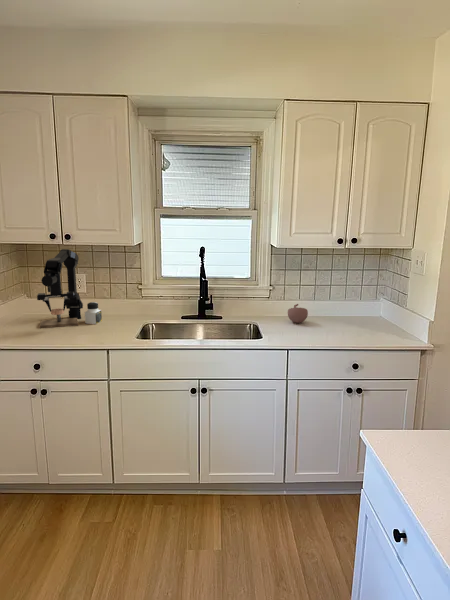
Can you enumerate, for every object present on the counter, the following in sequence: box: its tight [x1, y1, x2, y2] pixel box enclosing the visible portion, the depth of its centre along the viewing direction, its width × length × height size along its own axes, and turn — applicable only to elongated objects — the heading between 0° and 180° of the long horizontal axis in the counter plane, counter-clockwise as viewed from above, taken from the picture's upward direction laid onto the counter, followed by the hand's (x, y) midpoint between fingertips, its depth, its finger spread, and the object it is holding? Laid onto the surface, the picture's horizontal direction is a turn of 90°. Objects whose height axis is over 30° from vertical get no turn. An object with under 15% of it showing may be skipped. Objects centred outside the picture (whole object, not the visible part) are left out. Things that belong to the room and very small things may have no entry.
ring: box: [50, 307, 65, 316], centre depth 224 cm, size 6×6×2 cm
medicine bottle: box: [84, 301, 103, 325], centre depth 242 cm, size 7×7×12 cm
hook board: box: [39, 314, 79, 329], centre depth 238 cm, size 20×12×6 cm, turn 110°
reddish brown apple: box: [287, 303, 309, 324], centre depth 247 cm, size 12×12×11 cm
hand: (57, 311), depth 224 cm, fingers closed on ring, 6 cm apart
